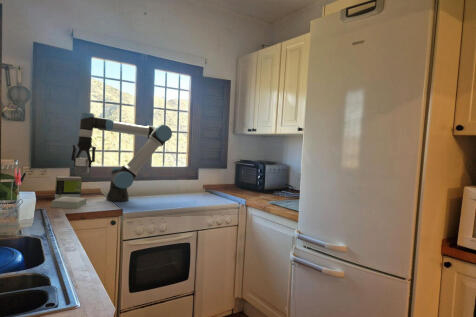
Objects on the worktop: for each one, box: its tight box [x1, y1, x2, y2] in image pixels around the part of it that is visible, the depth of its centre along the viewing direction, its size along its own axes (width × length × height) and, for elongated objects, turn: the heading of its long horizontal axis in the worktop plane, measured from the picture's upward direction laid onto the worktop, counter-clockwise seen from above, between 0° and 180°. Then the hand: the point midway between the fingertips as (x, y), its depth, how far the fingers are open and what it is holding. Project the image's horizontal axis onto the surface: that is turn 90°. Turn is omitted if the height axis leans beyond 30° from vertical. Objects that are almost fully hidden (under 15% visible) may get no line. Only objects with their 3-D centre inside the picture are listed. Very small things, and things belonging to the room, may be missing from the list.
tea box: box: [54, 176, 83, 200], centre depth 205 cm, size 15×10×15 cm, turn 123°
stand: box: [50, 197, 87, 210], centre depth 183 cm, size 14×16×4 cm
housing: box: [73, 157, 91, 176], centre depth 195 cm, size 12×6×10 cm, turn 12°
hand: (82, 172), depth 194 cm, fingers closed on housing, 6 cm apart
